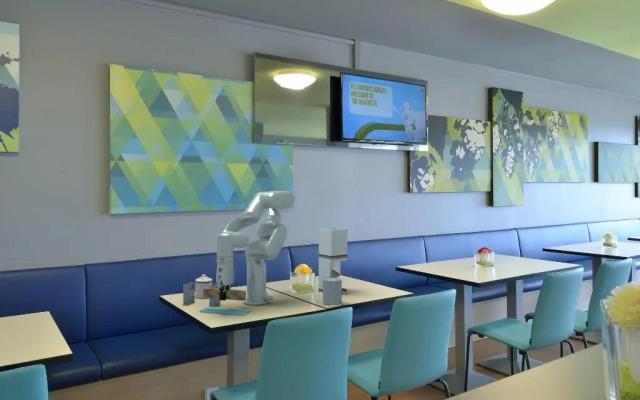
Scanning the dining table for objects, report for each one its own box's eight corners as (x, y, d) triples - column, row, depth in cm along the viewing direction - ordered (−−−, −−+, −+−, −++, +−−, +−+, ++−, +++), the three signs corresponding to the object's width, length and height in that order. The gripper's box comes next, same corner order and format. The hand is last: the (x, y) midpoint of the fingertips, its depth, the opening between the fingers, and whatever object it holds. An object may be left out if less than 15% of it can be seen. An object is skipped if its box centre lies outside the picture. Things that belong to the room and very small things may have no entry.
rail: (245, 299, 232) (246, 290, 232) (242, 300, 229) (243, 292, 229) (206, 295, 237) (206, 287, 237) (203, 297, 234) (203, 288, 234)
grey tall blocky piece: (331, 295, 269) (331, 230, 268) (318, 292, 278) (318, 228, 277) (346, 292, 276) (347, 229, 275) (334, 289, 285) (334, 227, 284)
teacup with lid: (214, 298, 262) (214, 275, 261) (196, 299, 258) (196, 276, 258) (209, 293, 273) (209, 271, 272) (192, 294, 269) (192, 273, 269)
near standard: (220, 304, 248) (220, 284, 248) (214, 307, 242) (214, 286, 242) (214, 303, 249) (214, 283, 248) (209, 306, 243) (209, 286, 243)
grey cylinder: (328, 307, 244) (328, 281, 244) (319, 302, 252) (319, 278, 252) (345, 305, 248) (345, 280, 248) (335, 300, 257) (336, 276, 256)
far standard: (194, 302, 252) (194, 282, 251) (188, 305, 246) (188, 284, 246) (189, 302, 252) (189, 282, 252) (183, 304, 247) (183, 284, 246)
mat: (250, 311, 235) (250, 309, 235) (243, 315, 227) (243, 314, 227) (207, 307, 240) (207, 306, 240) (199, 312, 233) (199, 310, 233)
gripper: (224, 262, 224) (224, 303, 224) (239, 258, 240) (239, 296, 240) (209, 261, 226) (208, 302, 226) (225, 257, 242) (225, 295, 242)
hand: (224, 299), depth 233 cm, fingers closed on rail, 3 cm apart
